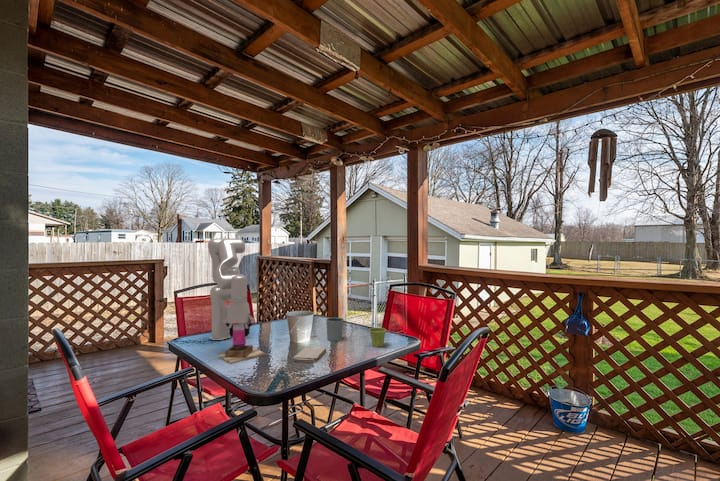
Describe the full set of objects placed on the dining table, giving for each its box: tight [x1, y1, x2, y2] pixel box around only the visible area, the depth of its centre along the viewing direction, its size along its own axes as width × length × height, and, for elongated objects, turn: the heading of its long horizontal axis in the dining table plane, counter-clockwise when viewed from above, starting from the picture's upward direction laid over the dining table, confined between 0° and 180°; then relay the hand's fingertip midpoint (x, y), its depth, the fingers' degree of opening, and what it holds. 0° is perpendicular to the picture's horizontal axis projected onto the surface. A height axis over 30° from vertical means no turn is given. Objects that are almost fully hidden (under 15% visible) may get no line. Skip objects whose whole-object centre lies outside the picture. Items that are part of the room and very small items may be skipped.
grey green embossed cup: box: [326, 316, 345, 343], centre depth 199 cm, size 10×10×12 cm
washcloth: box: [292, 347, 327, 364], centre depth 168 cm, size 12×18×3 cm, turn 169°
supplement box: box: [232, 323, 247, 346], centre depth 170 cm, size 6×6×12 cm
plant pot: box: [368, 327, 387, 348], centre depth 186 cm, size 9×9×9 cm
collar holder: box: [216, 344, 266, 365], centre depth 171 cm, size 16×18×4 cm
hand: (239, 335), depth 170 cm, fingers closed on supplement box, 6 cm apart
